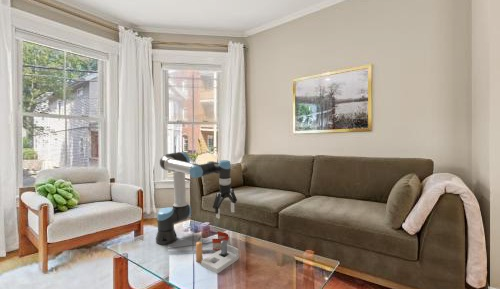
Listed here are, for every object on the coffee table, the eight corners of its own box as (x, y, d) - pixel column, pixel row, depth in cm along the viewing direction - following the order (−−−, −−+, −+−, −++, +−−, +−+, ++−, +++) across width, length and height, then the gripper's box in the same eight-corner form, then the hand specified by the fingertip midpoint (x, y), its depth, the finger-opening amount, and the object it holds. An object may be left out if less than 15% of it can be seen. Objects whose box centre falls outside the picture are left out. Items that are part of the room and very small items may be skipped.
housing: (201, 265, 166) (201, 255, 165) (223, 252, 182) (223, 242, 181) (217, 273, 157) (217, 262, 156) (238, 258, 173) (238, 248, 172)
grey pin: (219, 258, 173) (219, 241, 172) (223, 256, 176) (223, 239, 175) (224, 260, 171) (224, 243, 169) (228, 258, 174) (228, 240, 173)
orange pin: (195, 261, 171) (194, 243, 169) (199, 258, 174) (199, 241, 172) (199, 263, 168) (198, 245, 167) (203, 260, 172) (203, 242, 170)
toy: (226, 251, 182) (226, 240, 181) (211, 250, 184) (211, 239, 183) (231, 243, 194) (231, 232, 193) (217, 241, 196) (217, 231, 195)
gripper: (214, 189, 162) (215, 222, 164) (242, 181, 181) (242, 210, 183) (206, 187, 167) (207, 219, 169) (234, 179, 185) (234, 208, 188)
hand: (225, 215), depth 176 cm, fingers open, 13 cm apart
